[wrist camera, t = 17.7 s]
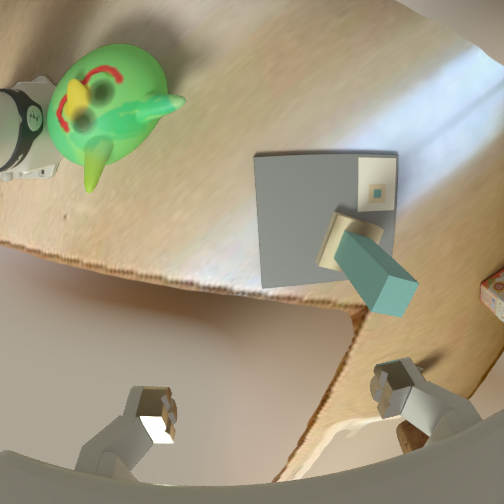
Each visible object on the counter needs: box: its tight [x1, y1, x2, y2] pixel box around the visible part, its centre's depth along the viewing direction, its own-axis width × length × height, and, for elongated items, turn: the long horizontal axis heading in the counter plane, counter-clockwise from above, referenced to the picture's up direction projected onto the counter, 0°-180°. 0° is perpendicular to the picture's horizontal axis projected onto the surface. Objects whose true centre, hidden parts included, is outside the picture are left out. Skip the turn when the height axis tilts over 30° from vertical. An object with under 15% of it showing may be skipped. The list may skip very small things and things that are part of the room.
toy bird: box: [47, 44, 186, 193], centre depth 34 cm, size 18×17×15 cm
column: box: [334, 230, 419, 317], centre depth 41 cm, size 5×5×16 cm
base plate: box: [254, 154, 398, 289], centre depth 48 cm, size 24×22×3 cm
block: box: [396, 420, 429, 454], centre depth 68 cm, size 11×8×20 cm
